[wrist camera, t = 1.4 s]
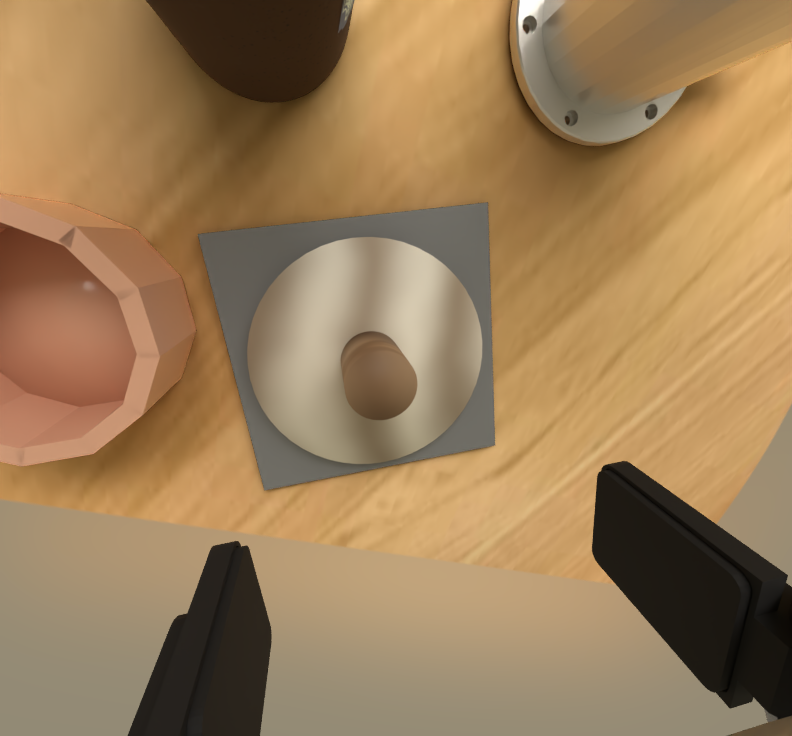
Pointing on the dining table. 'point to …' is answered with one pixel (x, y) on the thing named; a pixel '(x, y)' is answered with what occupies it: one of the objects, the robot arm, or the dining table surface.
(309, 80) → the olive oil
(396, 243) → the lid
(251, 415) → the mat
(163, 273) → the bowl
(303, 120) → the dining table surface
